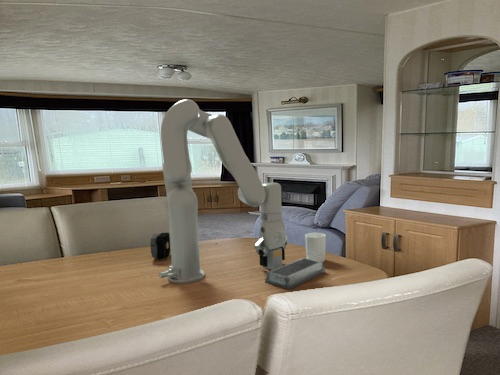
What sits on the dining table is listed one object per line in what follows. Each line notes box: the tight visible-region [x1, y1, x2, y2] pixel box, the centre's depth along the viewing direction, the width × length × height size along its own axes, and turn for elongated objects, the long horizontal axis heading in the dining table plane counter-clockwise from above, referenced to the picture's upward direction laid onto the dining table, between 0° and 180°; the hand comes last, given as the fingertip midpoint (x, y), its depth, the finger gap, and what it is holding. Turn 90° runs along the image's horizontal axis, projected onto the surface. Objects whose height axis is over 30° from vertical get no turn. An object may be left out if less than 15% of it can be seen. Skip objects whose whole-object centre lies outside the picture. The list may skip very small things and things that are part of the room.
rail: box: [264, 257, 326, 290], centre depth 122 cm, size 20×10×4 cm, turn 136°
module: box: [262, 248, 283, 271], centre depth 132 cm, size 5×5×7 cm
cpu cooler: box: [149, 232, 171, 260], centre depth 148 cm, size 10×6×10 cm, turn 178°
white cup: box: [304, 232, 327, 263], centre depth 138 cm, size 8×8×10 cm
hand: (272, 262), depth 133 cm, fingers open, 9 cm apart
